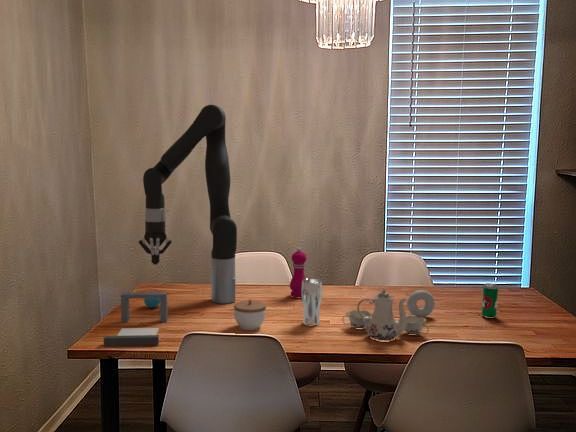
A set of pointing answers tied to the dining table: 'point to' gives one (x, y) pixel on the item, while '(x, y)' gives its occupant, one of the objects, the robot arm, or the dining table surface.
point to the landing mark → (138, 331)
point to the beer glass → (311, 300)
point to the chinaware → (385, 319)
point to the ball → (152, 302)
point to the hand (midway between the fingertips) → (155, 264)
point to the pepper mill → (298, 273)
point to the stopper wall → (131, 340)
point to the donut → (418, 296)
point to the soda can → (490, 300)
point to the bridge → (160, 295)
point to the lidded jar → (249, 314)
